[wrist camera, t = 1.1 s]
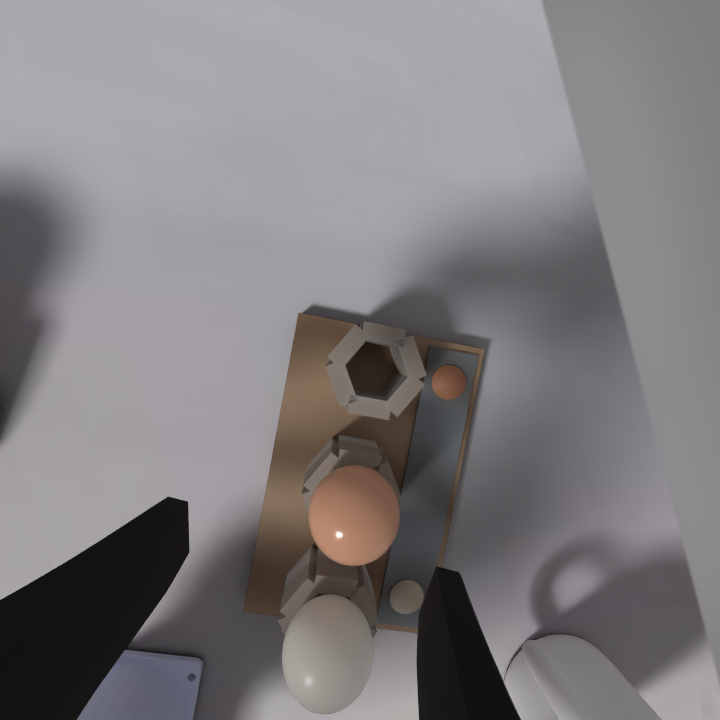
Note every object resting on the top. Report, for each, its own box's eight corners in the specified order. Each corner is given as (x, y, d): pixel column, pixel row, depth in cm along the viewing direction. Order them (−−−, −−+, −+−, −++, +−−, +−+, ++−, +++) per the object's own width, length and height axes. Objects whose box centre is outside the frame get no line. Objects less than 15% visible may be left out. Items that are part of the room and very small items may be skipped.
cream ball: (360, 656, 19) (368, 749, 15) (281, 647, 19) (265, 740, 14) (375, 580, 19) (387, 651, 15) (296, 569, 19) (284, 639, 14)
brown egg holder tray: (424, 622, 23) (442, 679, 19) (247, 599, 22) (228, 655, 18) (478, 349, 23) (508, 349, 19) (300, 314, 22) (292, 306, 18)
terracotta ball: (383, 537, 19) (398, 596, 15) (304, 526, 19) (295, 582, 14) (398, 460, 19) (418, 495, 15) (319, 447, 19) (314, 479, 14)
